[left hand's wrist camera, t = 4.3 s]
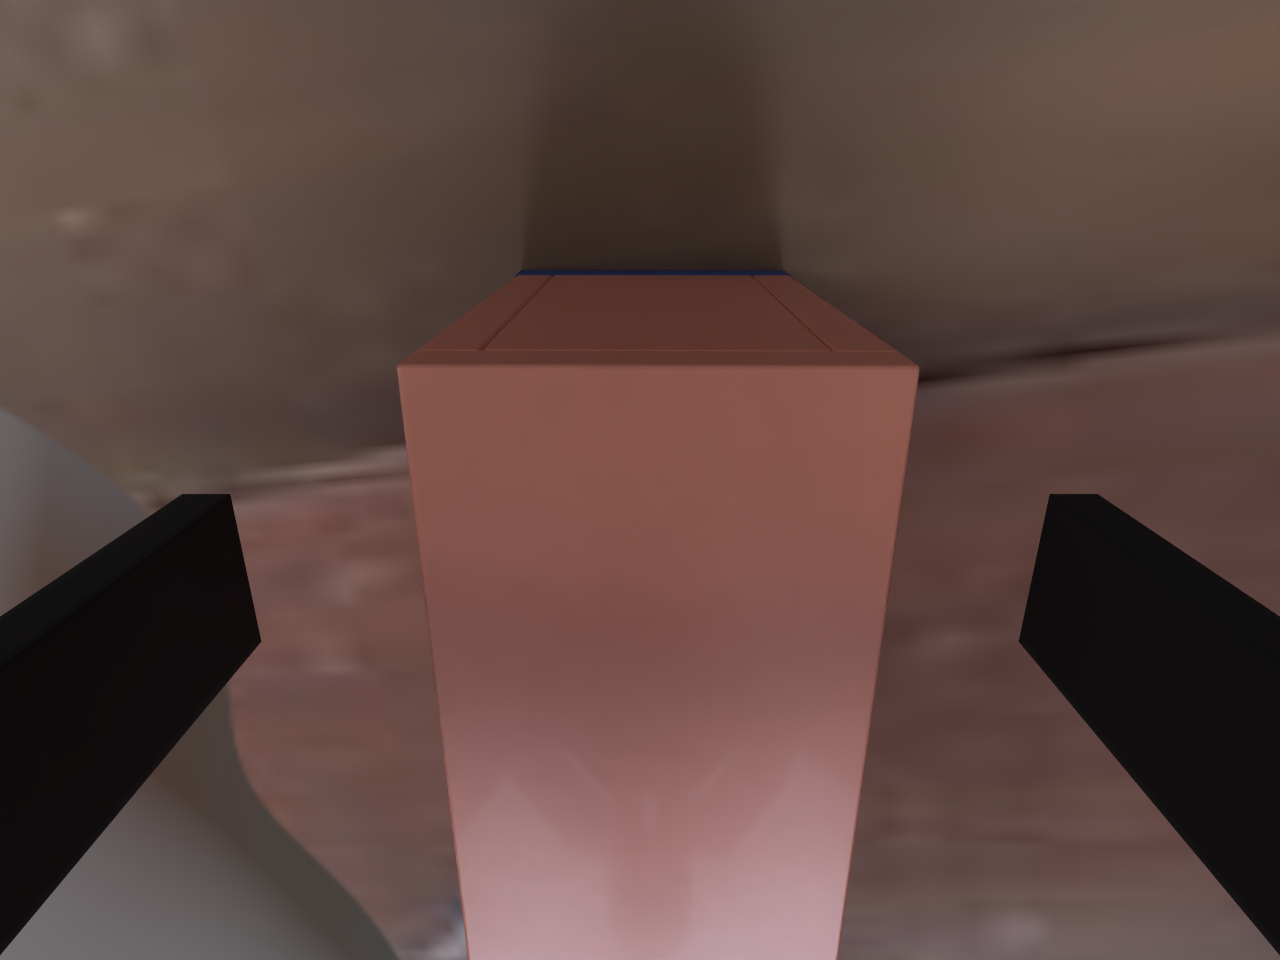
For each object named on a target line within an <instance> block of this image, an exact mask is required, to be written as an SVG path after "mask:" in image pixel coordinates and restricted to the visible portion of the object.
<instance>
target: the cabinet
mask: <svg viewBox="0 0 1280 960" xmlns="http://www.w3.org/2000/svg"><path fill="white" fill-rule="evenodd" d="M919 371H920V369H919V366H918V365H917V364H915V363H914V362H912V361H911V360H909V359H908V358H906V357H905V356H904V355H902V354H901V353H899V352H898V351H897V350H895V349H894V348H893V347H891V346H890V345H888V344H887V343H885V342H884V341H882V340H881V339H880V338H878V337H877V336H875V335H874V334H872V333H871V332H869V331H868V330H867V329H865V328H864V327H862V326H861V325H859V324H858V323H856V322H855V321H854V320H852V319H851V318H849V317H848V316H846V315H845V314H843V313H842V312H841V311H839V310H838V309H836V308H835V307H833V306H832V305H830V304H829V303H828V302H826V301H825V300H823V299H822V298H820V297H819V296H817V295H816V294H815V293H813V292H812V291H810V290H809V289H807V288H806V287H804V286H803V285H802V284H800V283H799V282H797V281H796V280H794V279H793V278H791V277H790V275H789V274H788V273H786V272H785V271H715V270H521V271H520V272H519V273H517V274H516V277H515V278H514V279H512V280H511V281H510V282H508V283H507V284H506V285H504V286H503V287H502V288H501V289H499V290H498V291H497V292H495V293H494V294H493V295H491V296H490V297H489V298H487V299H486V300H485V301H483V302H482V303H481V304H479V305H478V306H477V307H475V308H474V309H473V310H471V311H470V312H469V313H467V314H466V315H465V316H463V317H462V318H461V319H459V320H458V321H457V322H455V323H454V324H453V325H451V326H450V327H449V328H447V329H446V330H445V331H443V332H442V333H441V334H439V335H438V336H437V337H436V338H434V339H433V340H432V341H430V342H429V343H428V344H426V345H425V346H424V347H422V348H421V349H420V350H419V351H416V352H415V353H413V354H412V355H411V356H409V357H408V358H407V359H405V360H404V361H403V362H401V363H400V364H399V365H398V366H397V374H398V382H399V390H400V398H401V407H402V415H403V423H404V432H405V440H406V448H407V456H408V465H409V473H410V481H411V490H412V498H413V506H414V514H415V523H416V531H417V539H418V547H419V556H420V564H421V572H422V581H423V589H424V597H425V605H426V614H427V622H428V630H429V639H430V647H431V655H432V663H433V672H434V680H435V688H436V697H437V705H438V713H439V721H440V730H441V738H442V746H443V754H444V763H445V771H446V779H447V788H448V796H449V804H450V812H451V821H452V829H453V837H454V846H455V854H456V862H457V870H458V879H459V887H460V895H461V903H462V912H463V920H464V928H465V937H466V945H467V953H468V960H838V954H839V947H840V940H841V933H842V925H843V918H844V911H845V904H846V897H847V889H848V882H849V875H850V868H851V861H852V853H853V846H854V839H855V832H856V825H857V817H858V810H859V803H860V796H861V789H862V781H863V774H864V767H865V760H866V753H867V745H868V738H869V731H870V724H871V717H872V709H873V702H874V695H875V688H876V681H877V673H878V666H879V659H880V652H881V645H882V637H883V630H884V623H885V616H886V609H887V601H888V594H889V587H890V580H891V573H892V565H893V558H894V551H895V544H896V537H897V529H898V522H899V515H900V508H901V501H902V493H903V486H904V479H905V472H906V465H907V457H908V450H909V443H910V436H911V429H912V421H913V414H914V407H915V400H916V393H917V385H918V378H919Z"/></svg>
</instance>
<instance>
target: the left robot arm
mask: <svg viewBox="0 0 1280 960" xmlns="http://www.w3.org/2000/svg"><path fill="white" fill-rule="evenodd" d="M260 642H261V638H260V633H259V629H258V624H257V619H256V614H255V610H254V605H253V600H252V595H251V591H250V586H249V581H248V576H247V572H246V567H245V562H244V557H243V553H242V548H241V543H240V538H239V534H238V529H237V524H236V519H235V515H234V510H233V505H232V500H231V496H230V494H182V495H180V496H179V497H177V498H176V499H174V500H173V501H171V502H170V503H169V504H167V505H166V506H164V507H163V508H161V509H160V510H158V511H157V512H155V513H154V514H152V515H151V516H149V517H148V518H146V519H145V520H143V521H142V522H140V523H139V524H137V525H136V526H134V527H133V528H131V529H130V530H128V531H127V532H125V533H124V534H123V535H121V536H120V537H118V538H116V539H115V540H114V541H112V542H111V543H109V544H108V545H106V546H105V547H103V548H102V549H100V550H99V551H97V552H96V553H94V554H93V555H91V556H90V557H88V558H87V559H85V560H84V561H82V562H81V563H79V564H78V565H76V566H75V567H73V568H72V569H70V570H69V571H67V572H66V573H64V574H63V575H62V576H60V577H59V578H57V579H55V580H54V581H53V582H51V583H50V584H48V585H47V586H45V587H44V588H42V589H41V590H39V591H38V592H36V593H35V594H33V595H32V596H30V597H29V598H27V599H26V600H24V601H23V602H21V603H20V604H18V605H17V606H15V607H14V608H12V609H11V610H9V611H8V612H6V613H5V614H3V615H2V616H0V955H1V954H2V952H3V951H4V950H5V949H6V948H7V946H8V945H9V944H10V943H11V941H12V940H13V939H14V938H15V937H16V936H17V934H18V933H19V932H20V931H21V930H22V928H23V927H24V926H25V925H26V924H27V922H28V921H29V920H30V919H31V917H32V916H33V915H34V914H35V913H36V912H37V910H38V909H39V908H40V907H41V905H42V904H43V903H44V902H45V901H46V899H47V898H48V897H49V896H50V895H51V894H52V892H53V891H54V890H55V889H56V887H57V886H58V885H59V884H60V883H61V881H62V880H63V879H64V878H65V877H66V875H67V874H68V873H69V872H70V871H71V869H72V868H73V867H74V866H75V865H76V863H77V862H78V861H79V860H80V859H81V857H82V856H83V855H84V854H85V853H86V851H87V850H88V849H89V848H90V847H91V845H92V844H93V843H94V842H95V841H96V839H97V838H98V837H99V836H100V835H101V833H102V832H103V831H104V830H105V829H106V827H107V826H108V825H109V824H110V823H111V821H112V820H113V819H114V818H115V817H116V815H117V814H118V813H119V812H120V811H121V809H122V808H123V807H124V806H125V805H126V803H127V802H128V801H129V800H130V799H131V797H132V796H133V795H134V794H135V793H136V791H137V790H138V789H139V788H140V787H141V785H142V784H143V783H144V782H145V781H146V779H147V778H148V777H149V776H150V775H151V773H152V772H153V771H154V770H155V768H156V767H157V766H158V765H159V764H160V763H161V761H162V760H163V759H164V758H165V757H166V755H167V754H168V753H169V752H170V750H171V749H172V748H173V747H174V746H175V744H176V743H177V742H178V741H179V740H180V739H181V737H182V736H183V735H184V734H185V732H186V731H187V730H188V729H189V728H190V727H191V725H192V724H193V723H194V722H195V720H196V719H197V718H198V717H199V716H200V714H201V713H202V712H203V711H204V710H205V708H206V707H207V706H208V705H209V704H210V702H211V701H212V700H213V699H214V698H215V696H216V695H217V694H218V693H219V692H220V690H221V689H222V688H223V687H224V686H225V684H226V683H227V682H228V681H229V680H230V678H231V677H232V676H233V675H234V674H235V672H236V671H237V670H238V669H239V668H240V666H241V665H242V664H243V663H244V662H245V660H246V659H247V658H248V657H249V656H250V654H251V653H252V652H253V651H254V650H255V648H256V647H257V646H258V645H259V644H260ZM1019 642H1020V644H1021V645H1022V646H1023V647H1024V648H1025V650H1026V651H1027V652H1028V653H1029V654H1030V656H1031V657H1032V658H1033V659H1034V660H1035V662H1036V663H1037V664H1038V665H1039V666H1040V668H1041V669H1042V670H1043V671H1044V672H1045V674H1046V675H1047V676H1048V677H1049V678H1050V680H1051V681H1052V682H1053V683H1054V684H1055V686H1056V687H1057V688H1058V689H1059V690H1060V692H1061V693H1062V694H1063V695H1064V696H1065V698H1066V699H1067V700H1068V701H1069V702H1070V704H1071V705H1072V706H1073V707H1074V708H1075V710H1076V711H1077V712H1078V713H1079V714H1080V716H1081V717H1082V718H1083V719H1084V721H1085V722H1086V723H1087V724H1088V725H1089V727H1090V728H1091V729H1092V730H1093V731H1094V733H1095V734H1096V735H1097V736H1098V737H1099V739H1100V740H1101V741H1102V742H1103V743H1104V745H1105V746H1106V747H1107V748H1108V749H1109V751H1110V752H1111V753H1112V754H1113V755H1114V757H1115V758H1116V759H1117V760H1118V761H1119V763H1120V764H1121V765H1122V766H1123V767H1124V769H1125V770H1126V771H1127V772H1128V773H1129V775H1130V776H1131V777H1132V778H1133V779H1134V781H1135V782H1136V783H1137V784H1138V785H1139V787H1140V788H1141V789H1142V790H1143V791H1144V793H1145V794H1146V795H1147V796H1148V797H1149V799H1150V800H1151V801H1152V802H1153V803H1154V805H1155V806H1156V807H1157V808H1158V809H1159V811H1160V812H1161V813H1162V814H1163V815H1164V817H1165V818H1166V819H1167V820H1168V821H1169V823H1170V824H1171V825H1172V826H1173V827H1174V829H1175V830H1176V831H1177V832H1178V833H1179V835H1180V836H1181V837H1182V838H1183V839H1184V841H1185V842H1186V843H1187V844H1188V845H1189V847H1190V848H1191V849H1192V850H1193V851H1194V853H1195V854H1196V855H1197V856H1198V857H1199V859H1200V860H1201V861H1202V862H1203V863H1204V865H1205V866H1206V867H1207V868H1208V869H1209V871H1210V872H1211V873H1212V874H1213V875H1214V877H1215V878H1216V879H1217V880H1218V881H1219V883H1220V884H1221V885H1222V886H1223V887H1224V889H1225V890H1226V891H1227V892H1228V894H1229V895H1230V896H1231V897H1232V898H1233V900H1234V901H1235V902H1236V903H1237V904H1238V906H1239V907H1240V908H1241V909H1242V910H1243V912H1244V913H1245V914H1246V915H1247V916H1248V918H1249V919H1250V920H1251V921H1252V922H1253V924H1254V925H1255V926H1256V927H1257V928H1258V930H1259V931H1260V932H1261V933H1262V934H1263V936H1264V937H1265V938H1266V939H1267V940H1268V942H1269V943H1270V944H1271V945H1272V946H1273V948H1274V949H1275V950H1276V951H1277V952H1278V954H1279V955H1280V616H1278V615H1277V614H1275V613H1274V612H1272V611H1271V610H1269V609H1268V608H1266V607H1265V606H1263V605H1262V604H1260V603H1259V602H1257V601H1256V600H1254V599H1253V598H1251V597H1250V596H1248V595H1247V594H1245V593H1244V592H1242V591H1241V590H1239V589H1238V588H1236V587H1235V586H1233V585H1232V584H1230V583H1229V582H1227V581H1226V580H1225V579H1223V578H1222V577H1220V576H1219V575H1217V574H1216V573H1214V572H1213V571H1211V570H1210V569H1208V568H1207V567H1205V566H1204V565H1202V564H1201V563H1199V562H1198V561H1196V560H1195V559H1193V558H1192V557H1190V556H1189V555H1187V554H1186V553H1184V552H1183V551H1181V550H1180V549H1178V548H1177V547H1175V546H1174V545H1172V544H1171V543H1169V542H1168V541H1167V540H1165V539H1164V538H1162V537H1161V536H1159V535H1158V534H1156V533H1155V532H1153V531H1152V530H1150V529H1149V528H1147V527H1146V526H1144V525H1143V524H1141V523H1140V522H1138V521H1137V520H1135V519H1134V518H1132V517H1131V516H1129V515H1128V514H1126V513H1125V512H1123V511H1122V510H1120V509H1119V508H1117V507H1116V506H1114V505H1113V504H1111V503H1110V502H1109V501H1107V500H1106V499H1104V498H1103V497H1101V496H1100V495H1098V494H1050V496H1049V500H1048V505H1047V510H1046V515H1045V519H1044V524H1043V529H1042V534H1041V538H1040V543H1039V548H1038V553H1037V557H1036V562H1035V567H1034V572H1033V576H1032V581H1031V586H1030V591H1029V595H1028V600H1027V605H1026V610H1025V614H1024V619H1023V624H1022V629H1021V633H1020V638H1019Z"/></svg>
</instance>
